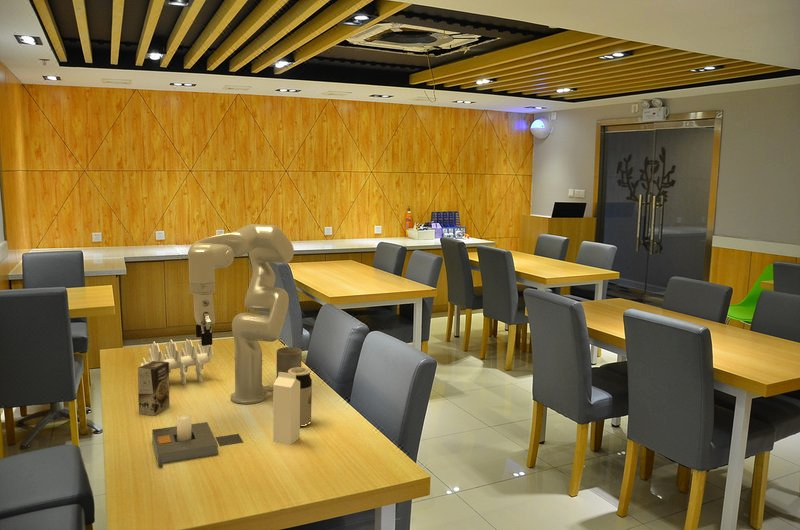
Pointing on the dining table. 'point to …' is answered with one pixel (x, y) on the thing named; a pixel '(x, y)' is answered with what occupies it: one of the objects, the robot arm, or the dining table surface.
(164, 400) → the coffee box
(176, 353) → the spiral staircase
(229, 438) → the pad
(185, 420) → the peg
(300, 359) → the pillar candle
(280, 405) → the milk
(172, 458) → the block
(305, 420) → the travel mug
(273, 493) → the dining table surface
